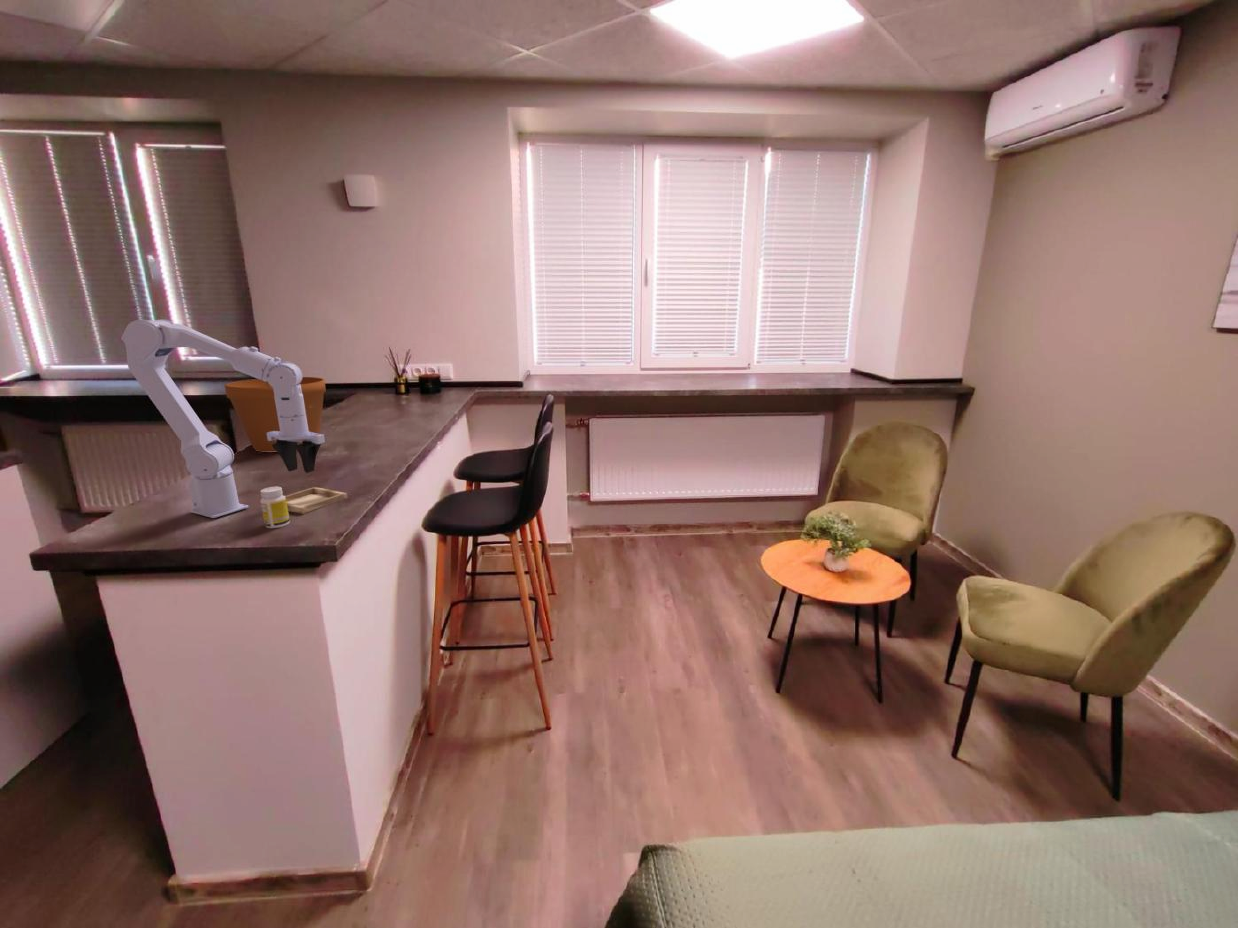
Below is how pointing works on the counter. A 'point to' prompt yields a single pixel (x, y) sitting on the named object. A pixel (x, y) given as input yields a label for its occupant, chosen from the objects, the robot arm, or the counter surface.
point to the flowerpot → (272, 408)
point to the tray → (312, 499)
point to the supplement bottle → (274, 507)
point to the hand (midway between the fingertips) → (301, 470)
